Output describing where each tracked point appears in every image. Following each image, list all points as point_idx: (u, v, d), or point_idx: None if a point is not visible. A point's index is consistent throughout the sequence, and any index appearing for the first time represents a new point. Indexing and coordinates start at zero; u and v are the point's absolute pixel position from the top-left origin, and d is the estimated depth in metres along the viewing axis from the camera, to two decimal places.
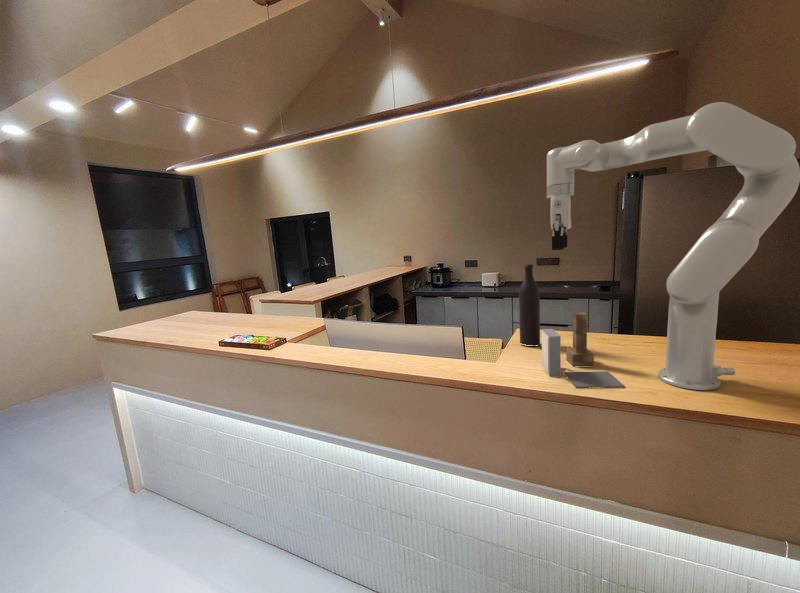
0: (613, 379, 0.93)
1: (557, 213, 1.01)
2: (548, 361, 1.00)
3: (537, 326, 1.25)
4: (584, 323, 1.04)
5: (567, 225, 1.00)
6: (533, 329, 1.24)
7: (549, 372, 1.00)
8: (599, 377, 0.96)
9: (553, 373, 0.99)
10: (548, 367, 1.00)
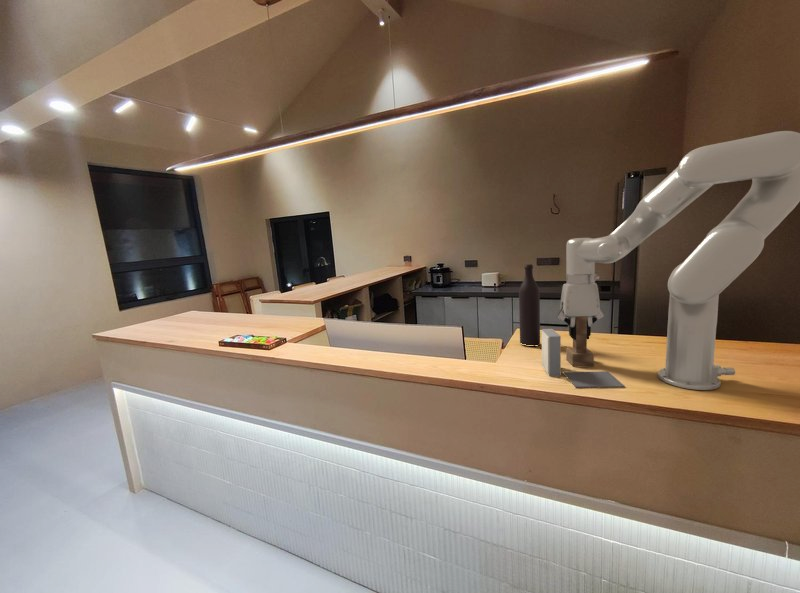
0: (613, 379, 0.93)
1: None
2: (548, 361, 1.00)
3: (537, 326, 1.25)
4: (584, 323, 1.04)
5: None
6: (533, 329, 1.24)
7: (549, 372, 1.00)
8: (599, 377, 0.96)
9: (553, 373, 0.99)
10: (548, 367, 1.00)
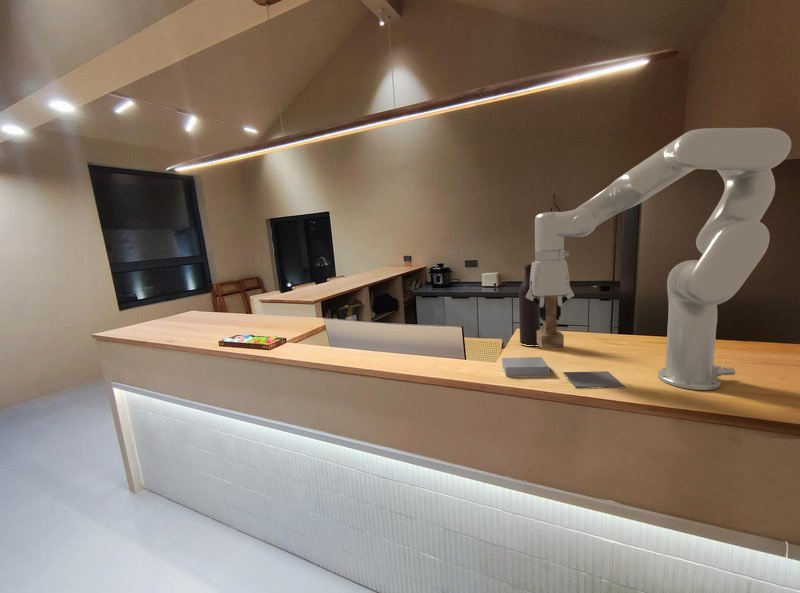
0: (613, 379, 0.93)
1: None
2: None
3: (537, 326, 1.25)
4: (553, 303, 0.98)
5: None
6: (533, 329, 1.24)
7: None
8: (599, 377, 0.96)
9: (545, 373, 1.00)
10: None
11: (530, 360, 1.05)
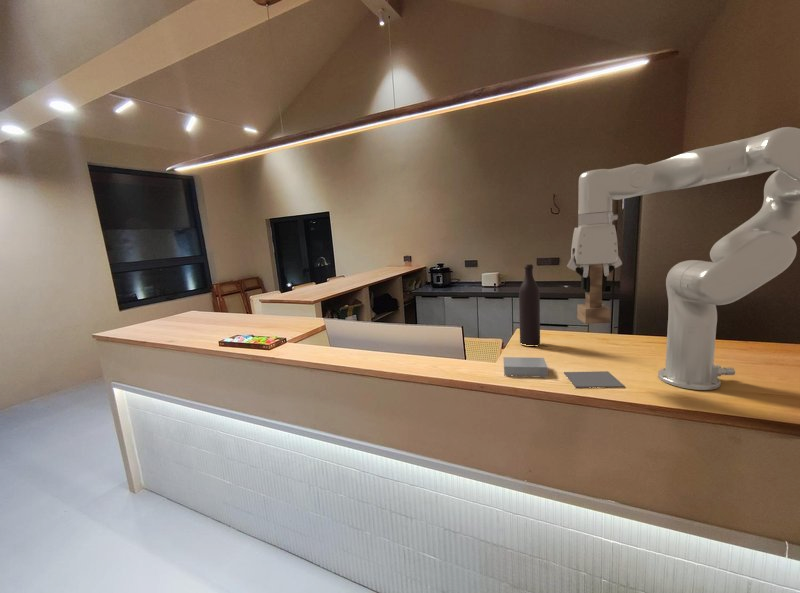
0: (613, 379, 0.93)
1: None
2: None
3: (537, 326, 1.25)
4: (599, 272, 0.89)
5: None
6: (533, 329, 1.24)
7: (543, 376, 1.00)
8: (599, 377, 0.96)
9: (544, 373, 0.99)
10: None
11: (531, 360, 1.05)
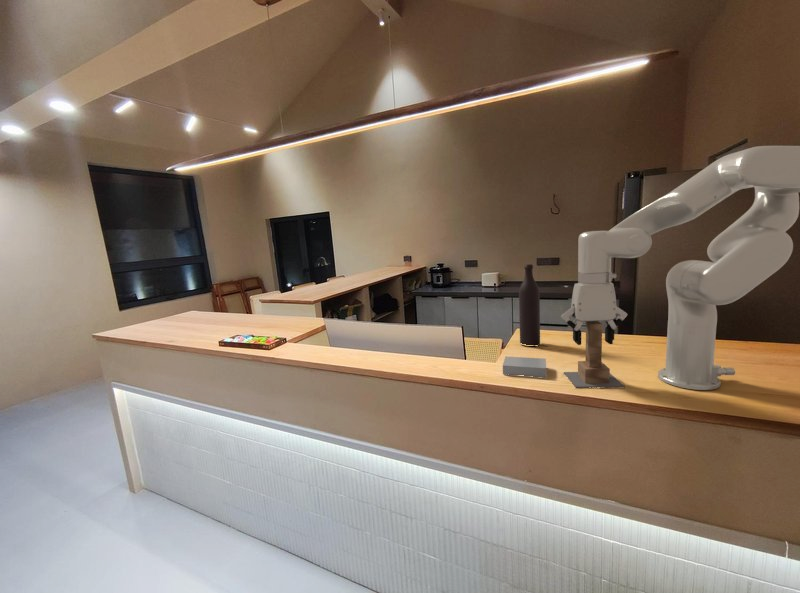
0: (613, 379, 0.93)
1: None
2: None
3: (537, 326, 1.25)
4: (599, 334, 0.91)
5: None
6: (533, 329, 1.24)
7: (542, 377, 0.99)
8: None
9: (542, 374, 0.99)
10: None
11: (531, 360, 1.05)
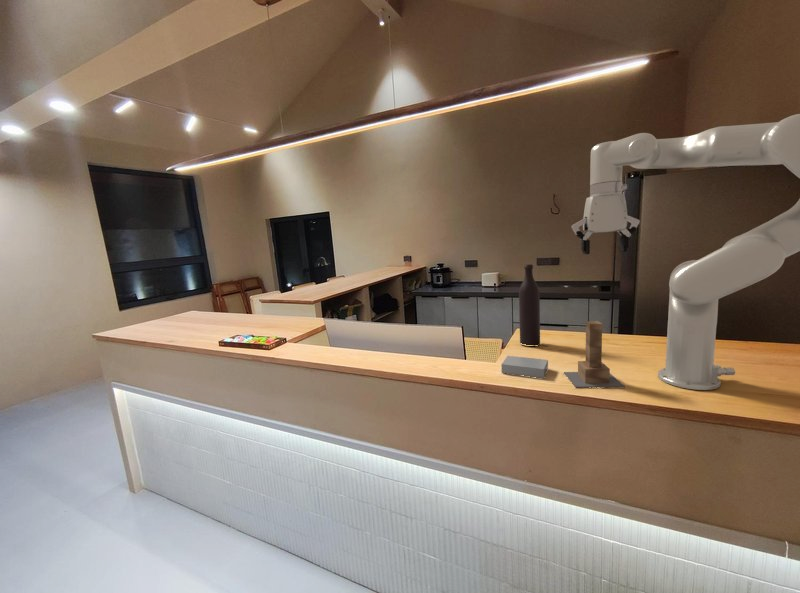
0: (613, 379, 0.93)
1: None
2: None
3: (537, 326, 1.25)
4: (599, 334, 0.91)
5: None
6: (533, 329, 1.24)
7: None
8: None
9: (540, 375, 0.99)
10: None
11: (532, 360, 1.05)
